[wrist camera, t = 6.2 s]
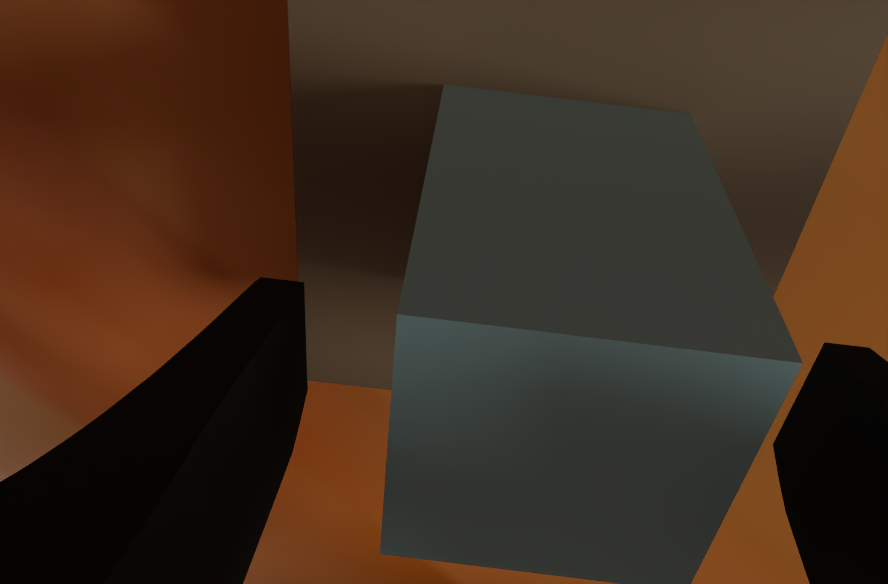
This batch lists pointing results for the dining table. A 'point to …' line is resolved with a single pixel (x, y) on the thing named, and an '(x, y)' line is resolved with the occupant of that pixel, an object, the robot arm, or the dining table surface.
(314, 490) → the dining table surface
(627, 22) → the base
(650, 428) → the block
